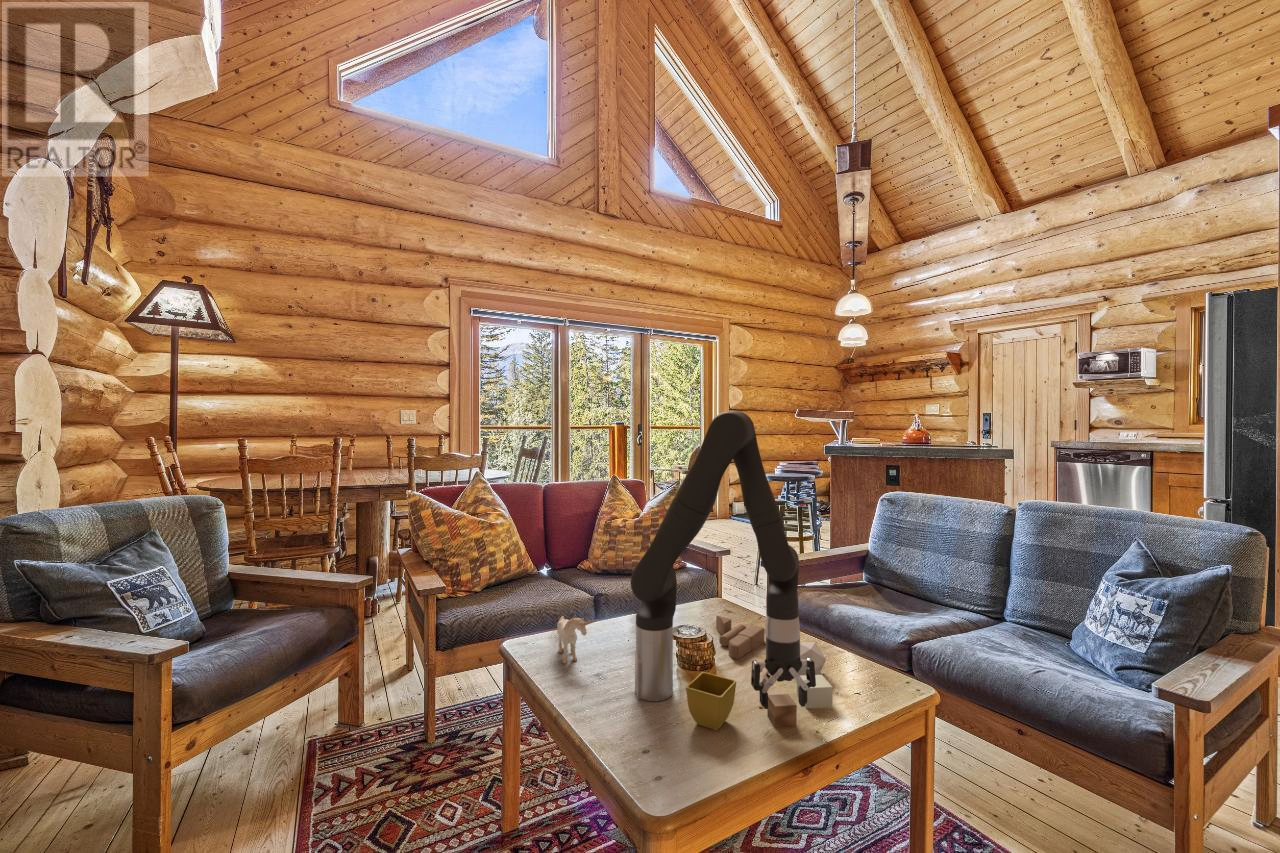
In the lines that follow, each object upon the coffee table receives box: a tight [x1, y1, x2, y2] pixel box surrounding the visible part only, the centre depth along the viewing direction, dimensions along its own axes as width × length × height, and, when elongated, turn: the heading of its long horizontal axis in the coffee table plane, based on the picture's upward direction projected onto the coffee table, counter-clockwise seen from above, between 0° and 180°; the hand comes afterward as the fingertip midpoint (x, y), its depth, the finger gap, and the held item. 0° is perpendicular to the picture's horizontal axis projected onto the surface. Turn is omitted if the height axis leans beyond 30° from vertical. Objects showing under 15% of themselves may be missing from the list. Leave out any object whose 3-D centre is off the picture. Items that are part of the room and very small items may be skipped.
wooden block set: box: [715, 615, 766, 661], centre depth 172 cm, size 17×6×18 cm
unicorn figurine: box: [556, 615, 599, 664], centre depth 161 cm, size 7×20×13 cm, turn 36°
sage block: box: [796, 674, 834, 709], centre depth 137 cm, size 6×6×5 cm
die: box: [798, 641, 827, 676], centre depth 151 cm, size 8×9×10 cm
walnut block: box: [766, 693, 798, 729], centre depth 128 cm, size 5×5×5 cm
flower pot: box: [685, 671, 737, 731], centre depth 127 cm, size 9×9×9 cm
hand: (783, 706), depth 128 cm, fingers open, 8 cm apart
